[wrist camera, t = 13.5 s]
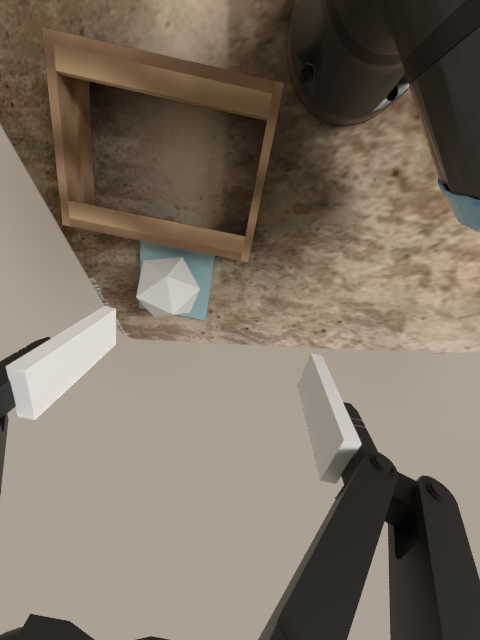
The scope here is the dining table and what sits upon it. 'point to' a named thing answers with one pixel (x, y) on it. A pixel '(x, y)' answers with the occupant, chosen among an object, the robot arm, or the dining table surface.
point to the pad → (197, 265)
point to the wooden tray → (158, 80)
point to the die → (167, 287)
